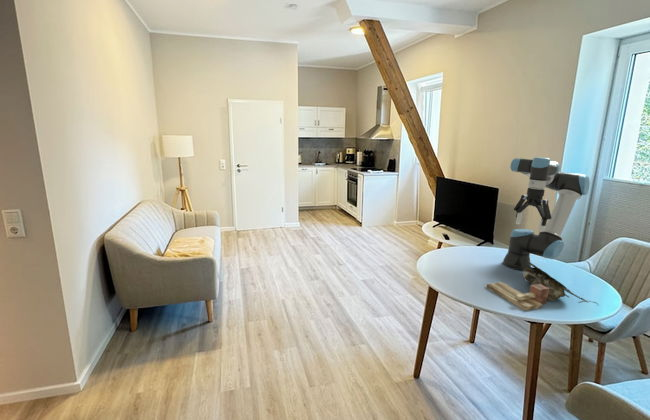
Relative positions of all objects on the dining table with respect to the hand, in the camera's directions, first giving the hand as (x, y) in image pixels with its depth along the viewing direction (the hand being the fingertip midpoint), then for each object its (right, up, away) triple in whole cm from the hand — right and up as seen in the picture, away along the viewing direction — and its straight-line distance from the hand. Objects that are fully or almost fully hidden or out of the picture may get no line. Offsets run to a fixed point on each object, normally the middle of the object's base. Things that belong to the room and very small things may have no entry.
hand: (529, 227), depth 177 cm
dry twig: (+20, -35, -3) cm, 40 cm away
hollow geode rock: (+7, -33, 0) cm, 34 cm away
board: (-14, -34, -9) cm, 38 cm away
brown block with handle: (-9, -36, -14) cm, 39 cm away
